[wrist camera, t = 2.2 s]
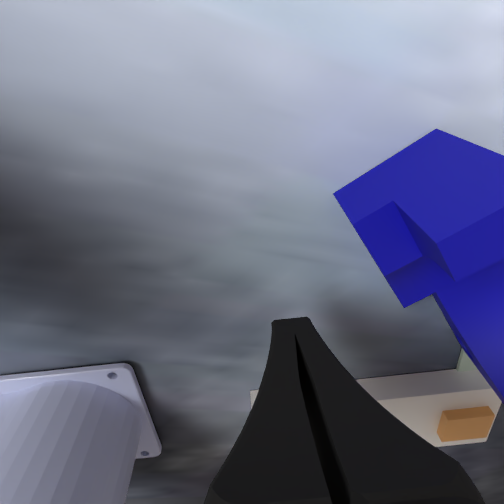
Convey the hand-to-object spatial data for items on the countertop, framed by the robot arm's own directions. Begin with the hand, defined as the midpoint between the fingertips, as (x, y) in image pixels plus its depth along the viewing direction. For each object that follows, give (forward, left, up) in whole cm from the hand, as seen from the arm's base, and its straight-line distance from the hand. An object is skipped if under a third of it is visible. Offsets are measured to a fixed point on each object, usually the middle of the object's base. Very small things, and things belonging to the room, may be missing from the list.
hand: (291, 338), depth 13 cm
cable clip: (+7, 0, -4) cm, 8 cm away
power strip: (+5, -10, -4) cm, 12 cm away
